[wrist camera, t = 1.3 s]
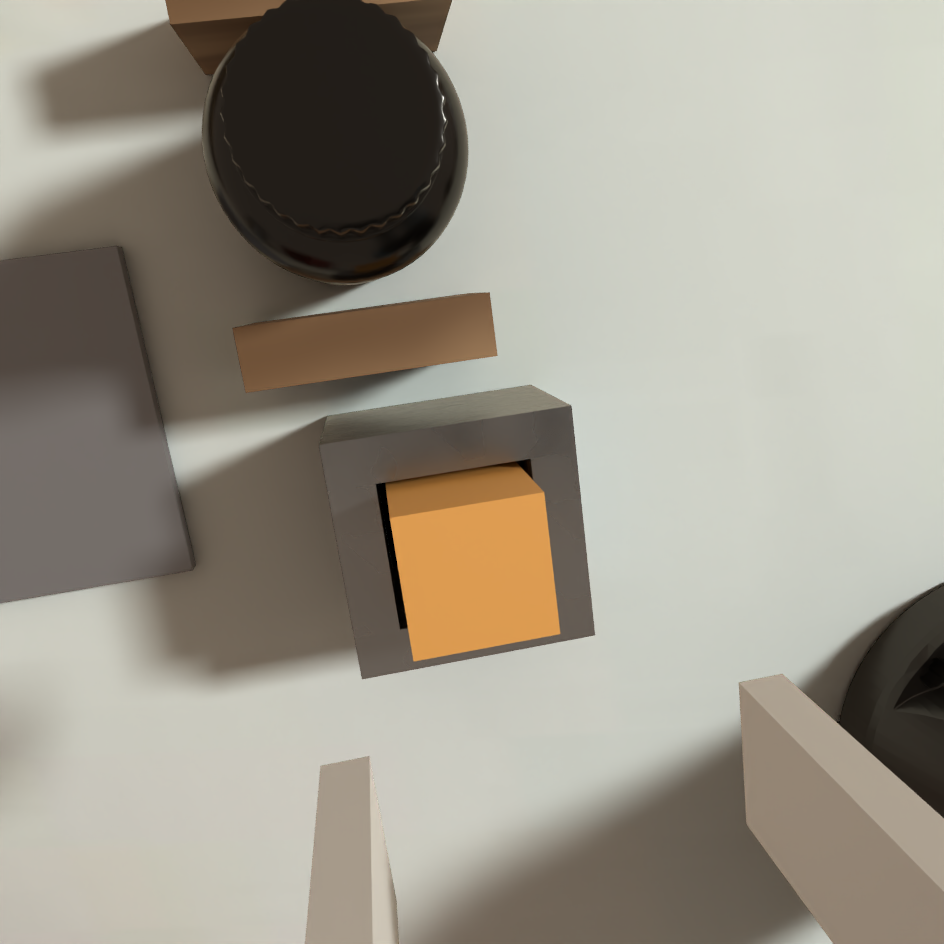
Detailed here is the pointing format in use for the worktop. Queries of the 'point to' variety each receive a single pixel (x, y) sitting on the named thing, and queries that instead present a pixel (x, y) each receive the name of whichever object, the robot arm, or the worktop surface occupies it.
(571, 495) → the plunger housing
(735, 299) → the worktop surface
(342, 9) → the supplement bottle
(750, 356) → the worktop surface
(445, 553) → the plunger
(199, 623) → the worktop surface
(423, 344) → the block
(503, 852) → the worktop surface
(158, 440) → the mat
